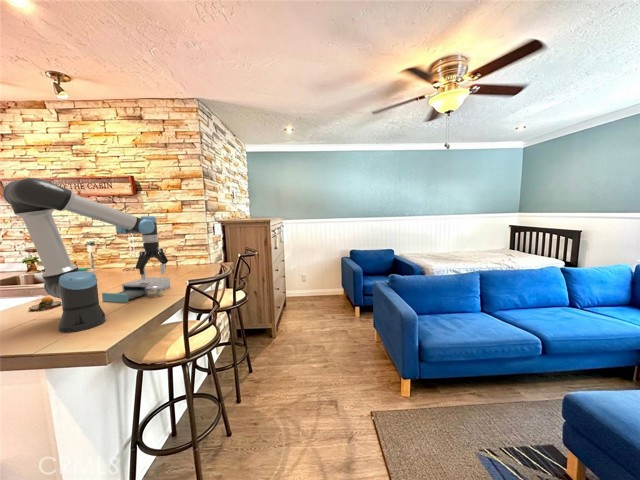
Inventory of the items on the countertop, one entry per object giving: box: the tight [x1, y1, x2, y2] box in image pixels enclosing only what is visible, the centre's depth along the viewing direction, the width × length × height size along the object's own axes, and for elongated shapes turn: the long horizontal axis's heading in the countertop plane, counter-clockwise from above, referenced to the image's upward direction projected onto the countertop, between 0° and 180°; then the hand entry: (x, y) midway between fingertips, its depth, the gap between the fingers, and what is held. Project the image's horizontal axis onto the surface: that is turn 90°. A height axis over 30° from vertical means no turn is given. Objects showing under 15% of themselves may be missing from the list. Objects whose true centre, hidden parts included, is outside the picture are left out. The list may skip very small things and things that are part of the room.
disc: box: [146, 284, 162, 290], centre depth 149 cm, size 8×8×2 cm
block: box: [147, 288, 163, 299], centre depth 149 cm, size 5×5×5 cm
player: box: [121, 276, 171, 297], centre depth 160 cm, size 18×18×7 cm
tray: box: [101, 289, 145, 304], centre depth 147 cm, size 17×17×5 cm
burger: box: [28, 294, 62, 313], centre depth 133 cm, size 12×12×8 cm
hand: (154, 276), depth 148 cm, fingers open, 13 cm apart
